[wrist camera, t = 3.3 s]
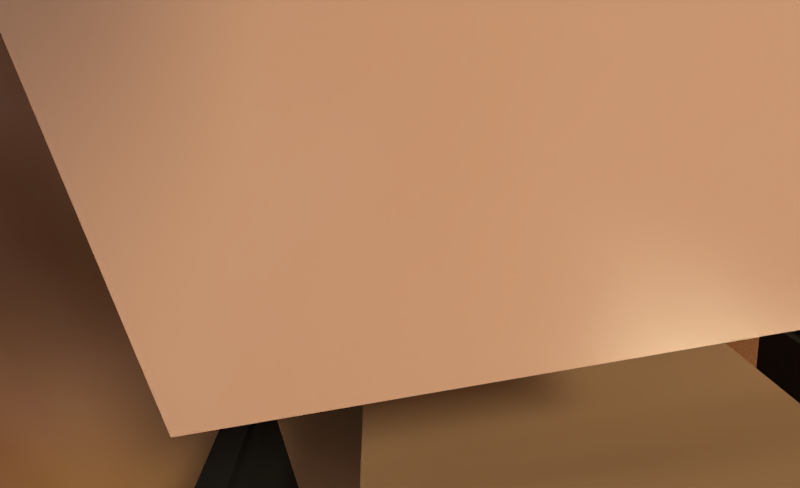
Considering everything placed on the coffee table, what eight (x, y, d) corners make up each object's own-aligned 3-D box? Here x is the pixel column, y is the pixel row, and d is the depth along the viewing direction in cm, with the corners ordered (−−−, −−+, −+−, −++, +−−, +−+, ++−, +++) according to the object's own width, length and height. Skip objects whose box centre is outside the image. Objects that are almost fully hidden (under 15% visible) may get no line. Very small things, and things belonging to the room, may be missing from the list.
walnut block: (367, 294, 10) (355, 597, 4) (613, 252, 10) (925, 506, 4) (407, 481, 12) (436, 868, 6) (616, 446, 12) (841, 807, 6)
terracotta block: (216, -100, 8) (-253, -570, 2) (539, -161, 7) (1043, -845, 2) (294, 210, 9) (169, 436, 4) (557, 163, 9) (843, 323, 4)
